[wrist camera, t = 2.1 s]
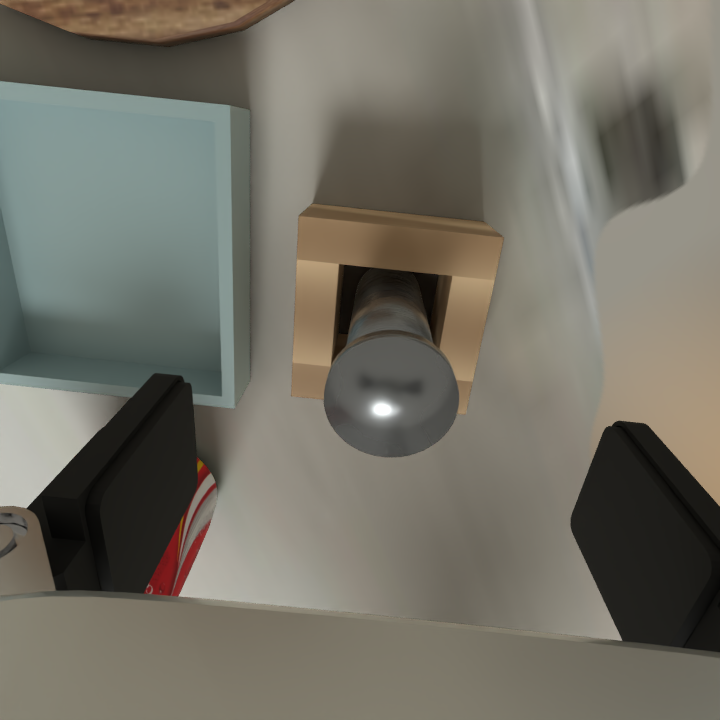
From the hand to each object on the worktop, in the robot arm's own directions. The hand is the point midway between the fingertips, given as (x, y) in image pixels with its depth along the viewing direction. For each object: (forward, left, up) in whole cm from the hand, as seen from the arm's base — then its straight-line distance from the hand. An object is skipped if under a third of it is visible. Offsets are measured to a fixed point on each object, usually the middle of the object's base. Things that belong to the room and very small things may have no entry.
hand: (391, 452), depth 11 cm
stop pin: (-1, 0, -14) cm, 14 cm away
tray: (0, +13, -14) cm, 19 cm away
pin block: (-1, 0, -14) cm, 14 cm away
